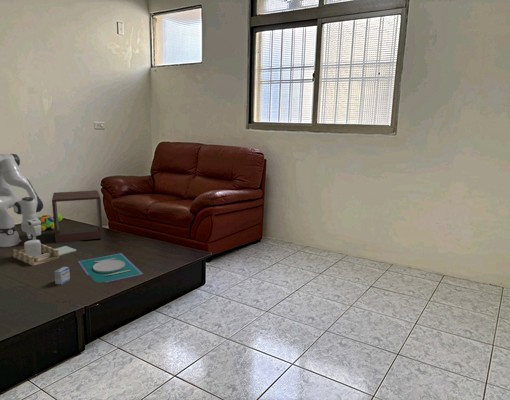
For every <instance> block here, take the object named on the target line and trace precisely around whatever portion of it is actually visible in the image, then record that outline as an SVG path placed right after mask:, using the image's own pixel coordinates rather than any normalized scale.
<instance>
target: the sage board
mask: <svg viewBox="0 0 510 400" xmlns="http://www.w3.org/2000/svg"><path fill="white" fill-rule="evenodd" d="M55 249H56V250H58V252H59V257H60V256H63V255H67V254H70V253H73V252H76V251H77V249H76V248H72V247H70V246H67V245H63V246H59V247H56V248H55Z"/></svg>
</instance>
